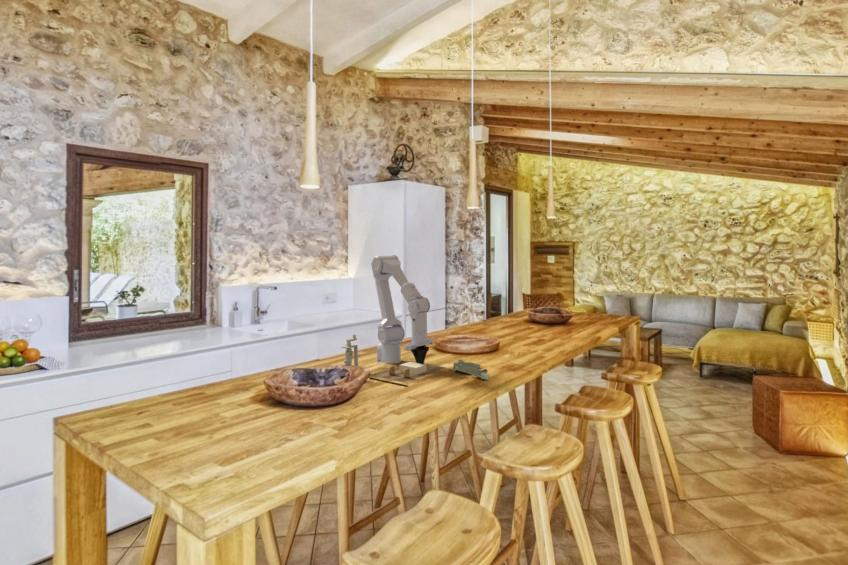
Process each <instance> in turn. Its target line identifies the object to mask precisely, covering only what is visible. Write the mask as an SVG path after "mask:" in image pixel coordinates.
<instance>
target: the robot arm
mask: <svg viewBox="0 0 848 565" xmlns="http://www.w3.org/2000/svg"><path fill="white" fill-rule="evenodd" d="M401 263H402V262H401V260H400V259H399V257H398V255H396V254H392V255H375V256H373V259H372V261H371V270H372V274H373V277H374V282H375V288H376V293H377V298H378V304H379V310H380V316H381V321H380V323H379V324H378V325H377V339H378V341H379V342H378V344H377V346H376V362H377V364H379V363H384V364H388V365H389V364H398V363H401V362H402V357H401V356H402V352H401V346H402V345H401V343H403V340H404V338H405V335H406V334H405V329H404V327H403V324H402V321H400V319H398V318H397V317H396V313H395V308H394V302H393V298H392V297H393V296H392V292H391V287H390V282H389V280H390V278H391V277H392V278H394V280H395V282H396V283H397V284H398V285H399V286H400V293H401V295H402V296H403V297H404V298H403V299H405V301H406V302H407V310H408V312H409V317H410V319H411V342H409V343H408V344H404V346H405V348H404V349H405V351H409V352H411V353H412V355H413V357H414V360H415V362H416V363H421V364H425V360H426V357H427V354H428V353H429V351H430V347H429V346H430V345H433V344H434V338H428V312H429V311H430V308H431V303H430V301H429V299H428V297H425V296H424V295H422V294H421V293H420V292H419V291H418V288H417V287H416V285H415V283H413V282H410V281H408V278H407V277H406V275H405V273H404V271H403V270H402V267H401Z"/></svg>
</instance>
